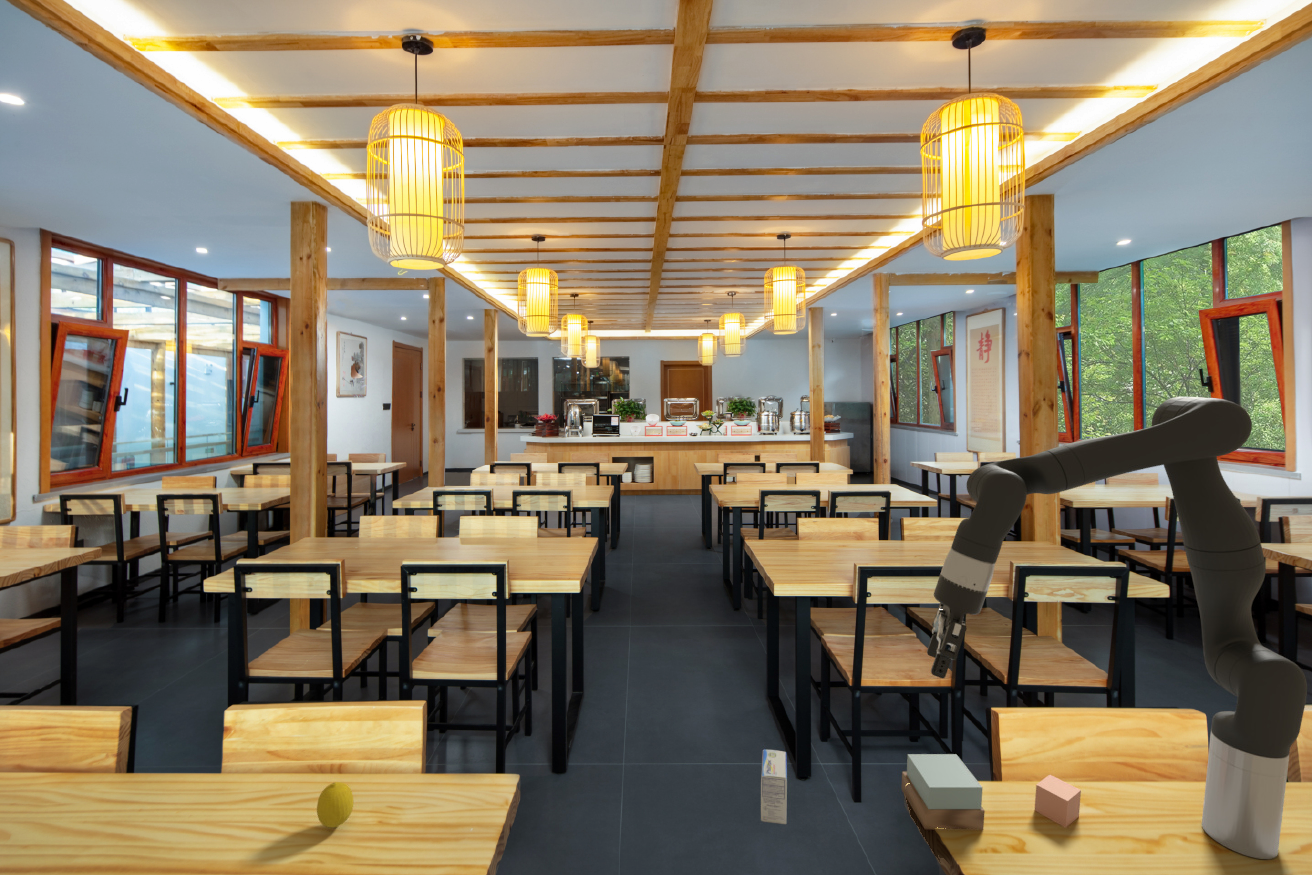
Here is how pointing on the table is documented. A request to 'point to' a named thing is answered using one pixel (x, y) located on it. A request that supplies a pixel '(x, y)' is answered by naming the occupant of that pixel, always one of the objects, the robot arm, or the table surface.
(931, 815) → the tower base block
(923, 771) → the tower top block
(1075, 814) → the terracotta block
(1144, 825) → the table surface
